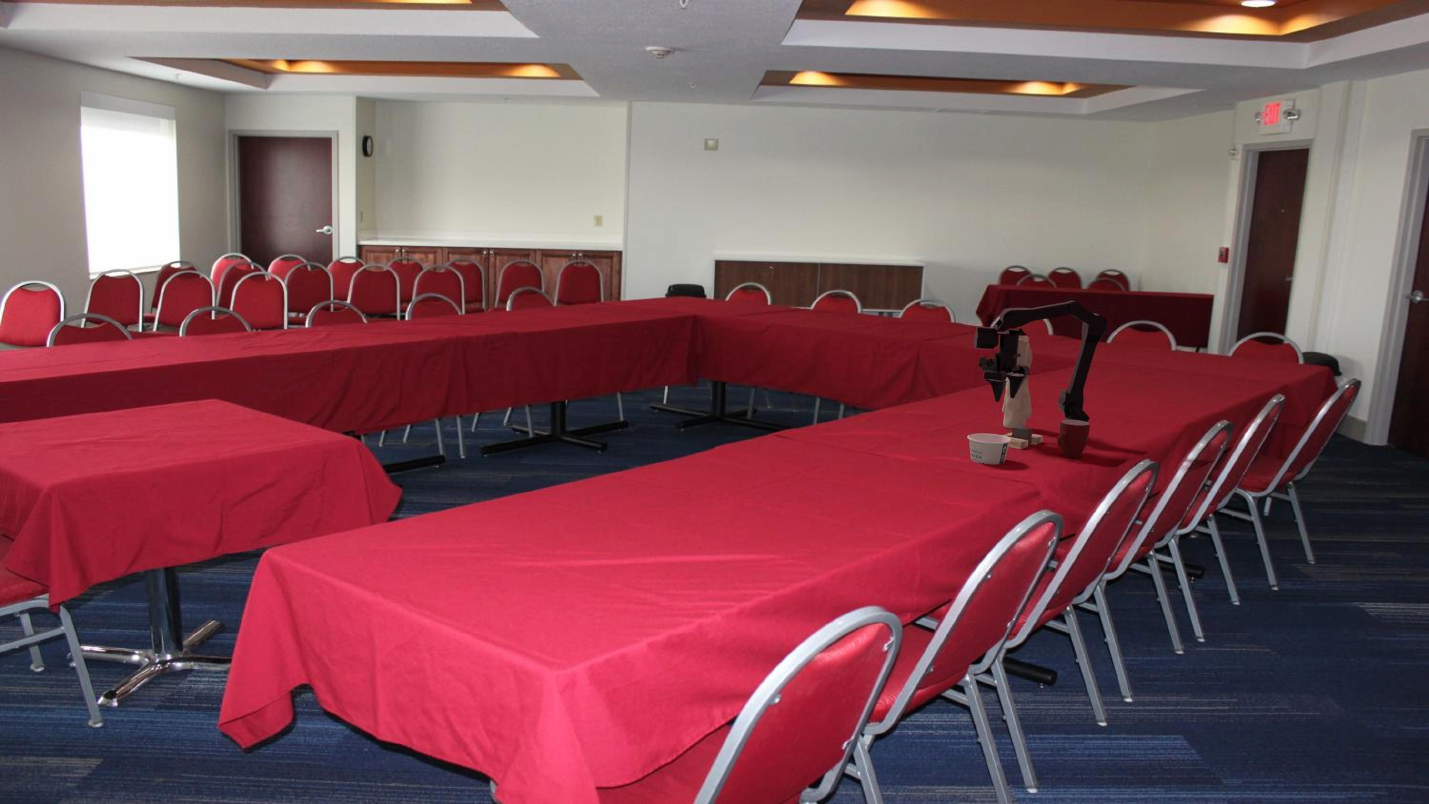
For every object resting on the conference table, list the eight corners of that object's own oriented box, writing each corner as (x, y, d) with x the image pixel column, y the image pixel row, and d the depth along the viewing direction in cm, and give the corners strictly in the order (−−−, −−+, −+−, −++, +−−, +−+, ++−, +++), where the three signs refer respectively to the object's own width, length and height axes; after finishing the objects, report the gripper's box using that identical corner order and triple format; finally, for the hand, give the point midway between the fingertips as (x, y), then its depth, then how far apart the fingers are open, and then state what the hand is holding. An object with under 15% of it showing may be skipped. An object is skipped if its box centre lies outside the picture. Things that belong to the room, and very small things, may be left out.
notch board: (1015, 437, 332) (1016, 431, 331) (1042, 442, 326) (1043, 435, 325) (993, 444, 322) (993, 437, 321) (1020, 449, 316) (1020, 442, 315)
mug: (1072, 462, 301) (1075, 427, 299) (1047, 456, 307) (1049, 422, 305) (1092, 457, 308) (1095, 423, 306) (1067, 451, 314) (1070, 418, 312)
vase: (1011, 423, 353) (1018, 333, 347) (1034, 428, 347) (1041, 336, 341) (996, 427, 347) (1003, 335, 342) (1019, 431, 341) (1026, 338, 335)
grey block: (1016, 441, 326) (1017, 426, 325) (1031, 444, 322) (1032, 428, 322) (1011, 443, 324) (1012, 427, 323) (1026, 446, 320) (1027, 429, 319)
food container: (957, 458, 302) (958, 436, 301) (984, 453, 309) (986, 431, 308) (991, 467, 293) (992, 444, 292) (1018, 462, 300) (1020, 439, 299)
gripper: (999, 344, 338) (996, 393, 341) (969, 349, 324) (966, 399, 327) (1032, 348, 330) (1028, 397, 333) (1002, 353, 317) (998, 405, 320)
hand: (1004, 400), depth 328 cm, fingers open, 9 cm apart
